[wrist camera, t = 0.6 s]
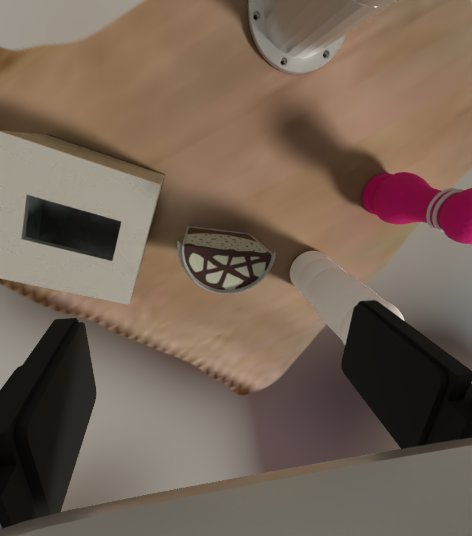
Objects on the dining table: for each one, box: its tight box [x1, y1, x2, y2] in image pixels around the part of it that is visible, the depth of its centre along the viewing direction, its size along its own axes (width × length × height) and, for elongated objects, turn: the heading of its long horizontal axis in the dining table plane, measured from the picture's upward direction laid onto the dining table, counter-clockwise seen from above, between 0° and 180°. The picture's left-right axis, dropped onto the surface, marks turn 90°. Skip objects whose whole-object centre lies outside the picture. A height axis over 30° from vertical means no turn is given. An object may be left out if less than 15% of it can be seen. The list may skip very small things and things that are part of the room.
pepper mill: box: [362, 172, 472, 244], centre depth 37 cm, size 7×7×20 cm
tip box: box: [0, 131, 165, 305], centre depth 34 cm, size 14×14×11 cm
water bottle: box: [290, 251, 404, 345], centre depth 37 cm, size 7×7×25 cm
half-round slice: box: [177, 226, 276, 294], centre depth 40 cm, size 12×6×10 cm, turn 80°
